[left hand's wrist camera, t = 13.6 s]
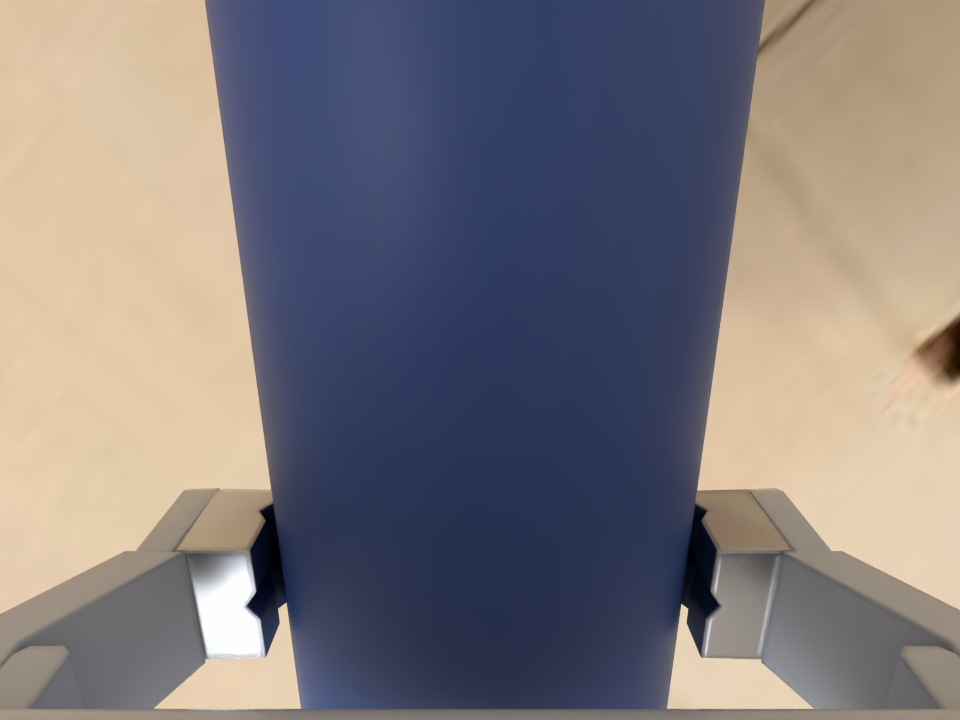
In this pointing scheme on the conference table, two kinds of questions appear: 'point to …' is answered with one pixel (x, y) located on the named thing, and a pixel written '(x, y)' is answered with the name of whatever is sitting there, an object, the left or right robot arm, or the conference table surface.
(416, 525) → the rod
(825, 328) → the conference table surface
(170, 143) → the conference table surface
